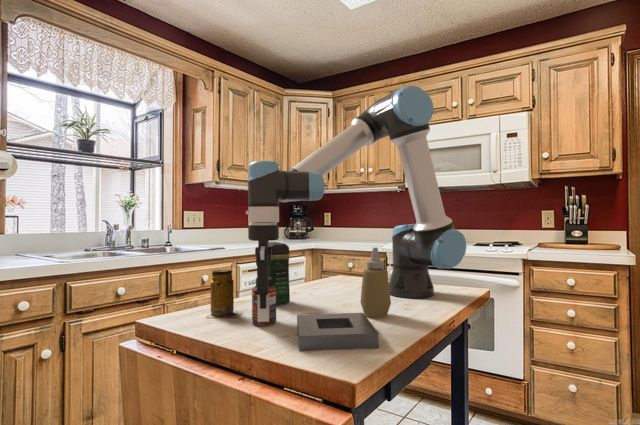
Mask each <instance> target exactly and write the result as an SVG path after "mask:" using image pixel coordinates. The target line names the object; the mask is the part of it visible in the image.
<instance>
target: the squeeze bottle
mask: <svg viewBox="0 0 640 425" xmlns="http://www.w3.org/2000/svg"><path fill="white" fill-rule="evenodd" d="M371 251H372V252H371V257H370V260H366V268H365V269H364V270H363V271H362V281H361V291H360V302H359V303H360V305H361V306H360V307H361V308H362V310H363V312H362V313H364V315H365V316H366V317H367V318H371V319H382V318H386V317H387V316H388V313H389V311H390V307H391V305H392V302H391V301H392V300H391V295H390V290H389V281H390V279H389V271H388V270H387V269H385V261H383V260H381V259H380V258H381V257H380V254H379V250H378V247H372V250H371Z"/></svg>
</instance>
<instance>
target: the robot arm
mask: <svg viewBox="0 0 640 425" xmlns="http://www.w3.org/2000/svg"><path fill="white" fill-rule="evenodd" d="M434 109H435V108H434V103H433V100H432V98H431V96H430V95H429V93H427V92H426V91H425V90H423V89H422V88H421V87H420V86H418V85H417V86H416V85H407V86H404V87H401V88H398V89H396V90H394V91H393V92H391V93H388V94H387V95H385V96H383V97H380V98H379V99H378V100H375V101H374V102H373V103H371V105H369V106H368V108H366V109H365V110H364V111H362V112H361V113H360V114H359V115H358V116H357V117H355V118H354V119H352V120H351V124H350V126H348V127H347V128H345V129H344V130H343V131H342V132H340V133H339V134H337V135H336V136H334V137H333V138H332V139H331V140H329V141H327V142H326V143H324V144H323V145H322V146H321V147H319V148H318V149H316V150H315V151H313V152H312V153H311V154H309V155H307V157H305V158H303V159H302V160H301V161H300V162H297V163H296V164H295V165H294V166H292V167H291V168H290V169H289V170H283V169H281V170H280V167H279V163H278V162H276V161H272V160H255V161H252V162H250V163H249V165H248V169H247V170H248V171H247V193H248V195H247V197H248V199H247V200H248V202H247V203H248V204H247V205H248V206H247V207H248V209H247V210H246V211H245V215H248V220H247V222H248V223H249V224H250V225H248V228H247V231H248V232H247V234H248V235H247V236H248V237H247V238H248V240H249V241H252V242H254V241H255V242H256V241H258V242H257V244H258V246H256V248H255V249H254V251H255V252H254V253H255V265H256V278H257V292H254V294H255V295H257V310H258V322H269V294H268V293H269V291H268V277H270V264H271V254H272V247H269V242H273V241H276V240H279V239H280V226H279V225H278V224H277V223H279V222H280V203H288V202H300V201H309V202H311V201H319V200H321V199H322V198H323V197H324V194H325V188H326V182H325V179H324V177H325V176H326V175H327V174H329V173H330V172H332V171H333V170H334V169H335V168H336V167H338V166H340V164H342V163H343V162H345V161H346V160H347V159H349V158H350V157H351V156H353V155H354V154H355V153H358V151H359V150H361V149H362V148H364V146H366V147H367V146H368V147H369V146H372V145H373V144H374V143H375V142H377V141H379V140H382V139H383V138H386V137H388V136H389V139H390V140H389V141H390V142H391V143H393V144H395V146H396V147H397V150H398V153H399V157H400V161H401V166H402V169H403V170H402V171H403V175H404V179H405V183H406V186H407V189H408V193H409V198H410V201H411V205H412V209H413V213H414V216H415V221H416V223H411V224H401V225H395V227H394V228H393V229H392V235H391V240H392V271H391V275H390V278H389V290H390V296H393V297H398V298H406V299H423V298H424V299H425V298H430V297H433V296H434V295H435V287H434V284H433V281H432V278H431V274H430V272H429V267H433V268H437V269H440V270H441V269H453V268H456V267H457V266H458V265H459V264H461V262H462V260H463V258H464V256H465V255H466V252H467V239H466V237H465V235H464V234H463V233H462V232H461V231H460V230H458V229H455V226H454V223H453V219H451V218H450V217H449V216H447V215H446V213H445V208H444V205H443V200H442V197H441V193H440V188H439V183H438V180H437V175H436V171H435V168H434V167H435V166H434V164H433V159H432V155H431V150H430V148H429V147H430V146H429V143H428V138H427V136H428V135H429V133H430V131H431V129H430V124H429V122H430V121H431V120H432V118H433V114H434V113H435V111H434ZM272 285H273V284H272Z"/></svg>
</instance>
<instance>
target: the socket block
mask: <svg viewBox="0 0 640 425" xmlns="http://www.w3.org/2000/svg"><path fill="white" fill-rule="evenodd" d="M296 328H297V329H296V330H297V332H296V333H297V340H298V343H297V344H298V351H299V352H313V351H338V350H361V349H362V350H363V349H380V336H379V335H380V334H379V332H378V330H377V329H376V328H375V327H374V325H373V324H372V323H371V321H370V320H369V319H368V317H367V316H365V315H364V312H347V313H346V312H345V313H341V312H340V313H315V314H314V313H310V314H307V313H306V314H296Z"/></svg>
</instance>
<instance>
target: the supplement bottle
mask: <svg viewBox="0 0 640 425" xmlns="http://www.w3.org/2000/svg"><path fill="white" fill-rule="evenodd" d="M268 291H269V293H268V294H269V322H258V310H257V295H255V294H254V292H257V277H256V278H255V286H253V287H252V289H251V320H252V321H251V322H252V324H253V325H254V326H257V327H269V326H273V325H275V324H276V322H277V305H276V288H275V287H274V286H273V285H272V278H271V277H268Z"/></svg>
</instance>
